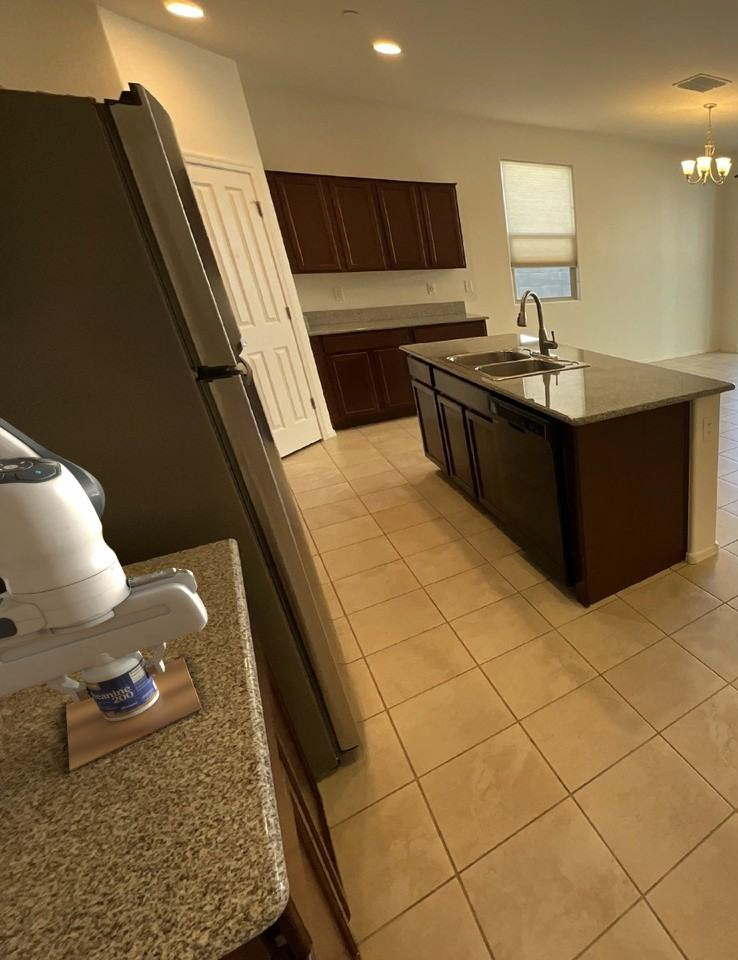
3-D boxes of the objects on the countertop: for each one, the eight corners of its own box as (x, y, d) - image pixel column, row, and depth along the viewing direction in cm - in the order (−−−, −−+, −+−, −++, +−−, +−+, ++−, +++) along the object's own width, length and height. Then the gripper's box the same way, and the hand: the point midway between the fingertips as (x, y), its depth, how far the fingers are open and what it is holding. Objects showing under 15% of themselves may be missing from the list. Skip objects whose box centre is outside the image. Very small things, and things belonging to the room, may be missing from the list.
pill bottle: (93, 726, 64) (58, 664, 61) (122, 694, 69) (91, 635, 65) (144, 718, 65) (113, 656, 62) (169, 687, 70) (142, 628, 67)
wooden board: (66, 706, 68) (65, 704, 68) (183, 658, 76) (183, 657, 76) (70, 771, 59) (69, 769, 59) (202, 709, 67) (201, 708, 67)
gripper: (189, 553, 69) (222, 637, 74) (-49, 614, 57) (11, 709, 62) (189, 573, 64) (224, 661, 70) (-70, 644, 52) (-3, 744, 58)
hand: (122, 684), depth 66 cm, fingers closed on pill bottle, 5 cm apart
